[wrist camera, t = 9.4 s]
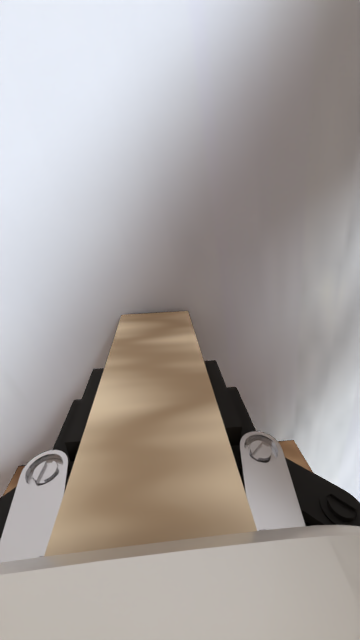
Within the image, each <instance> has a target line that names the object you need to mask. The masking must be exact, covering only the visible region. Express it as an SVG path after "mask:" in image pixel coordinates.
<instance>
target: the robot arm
mask: <svg viewBox="0 0 360 640" xmlns="http://www.w3.org/2000/svg"><path fill="white" fill-rule="evenodd" d="M204 363H205V366H206V369H207V373H208V376H209V379H210V382H211V385H212V389H213V392H214V395H215V398H216V401H217V404H218V408H219V411H220V414H221V417H222V420H223V423H224V427H225V430H226V433H227V436H228V439H229V442H230V446H231V449H232V452H233V455H234V458H235V462H236V465H237V468H238V471H239V474H240V477H241V481H242V484H243V487H244V490H245V493H246V496H247V500H248V503H249V506H250V509H251V512H252V515H253V519H254V522H255V525H256V528H257V531H253V532H244V533H236V534H227V535H218V536H209V537H200V538H192V539H184V540H175V541H167V542H158V543H150V544H142V545H133V546H125V547H117V548H109V549H101V550H93V551H85V552H77V553H69V554H61V555H53V556H45V557H44V555H45V552H46V549H47V546H48V542H49V539H50V536H51V533H52V530H53V527H54V524H55V521H56V517H57V514H58V511H59V508H60V505H61V502H62V499H63V496H64V492H65V489H66V486H67V483H68V480H69V477H70V474H71V471H72V468H73V464H74V461H75V458H76V455H77V452H78V449H79V446H80V443H81V439H82V436H83V433H84V430H85V427H86V424H87V421H88V418H89V414H90V411H91V408H92V405H93V402H94V399H95V396H96V393H97V390H98V386H99V383H100V380H101V377H102V374H103V371H104V368H102V369H93V371H92V374H91V376H90V379H89V381H88V384H87V387H86V389H85V392H84V394H83V397H82V399H79V400H74V402H73V403H72V406H71V408H70V410H69V413H68V415H67V417H66V420H65V422H64V424H63V427H62V429H61V431H60V434H59V436H58V438H57V441H56V443H55V445H54V448H53V450H49V451H46V452H43V453H41V454H39V455H37V456H36V457H34V458H33V459H32V460H31V461H29V462H28V463H27V465H26V466H25V467H24V468H23V470H22V472H21V475H20V478H19V481H18V484H17V486H16V487H15V488H14V489H12V490H11V491H9V492H8V493H7V494H5V495H4V496H2V497H1V498H0V640H360V503H359V502H358V501H357V500H356V499H355V498H354V497H353V496H352V495H351V494H349V493H348V492H346V491H345V490H343V489H341V488H339V487H338V486H336V485H334V484H332V483H330V482H329V481H327V480H325V479H323V478H321V477H320V476H318V475H316V474H314V473H312V472H311V471H309V470H307V469H305V468H303V467H302V466H300V465H298V464H296V463H294V462H293V461H291V460H289V459H287V458H285V456H284V453H283V450H282V448H281V445H280V444H279V442H278V441H277V440H276V439H275V438H273V437H272V436H271V435H269V434H266V433H264V432H259V431H256V430H255V428H254V426H253V423H252V421H251V419H250V417H249V414H248V412H247V410H246V408H245V405H244V403H243V401H242V399H241V397H240V394H239V392H238V390H237V388H236V387H229V388H226V385H225V383H224V380H223V377H222V375H221V372H220V370H219V367H218V365H217V362H216V361H215V360H213V361H204Z"/></svg>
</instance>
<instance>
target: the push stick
mask: <svg viewBox="0 0 360 640" xmlns="http://www.w3.org/2000/svg"><path fill="white" fill-rule="evenodd" d="M253 531H257V528H256V525H255V522H254V519H253V515H252V512H251V509H250V506H249V503H248V500H247V496H246V493H245V490H244V487H243V484H242V481H241V477H240V474H239V471H238V468H237V465H236V462H235V458H234V455H233V452H232V449H231V446H230V442H229V439H228V436H227V433H226V430H225V427H224V423H223V420H222V417H221V414H220V411H219V408H218V404H217V401H216V398H215V395H214V392H213V389H212V385H211V382H210V379H209V376H208V373H207V369H206V366H205V363H204V360H203V357H202V354H201V350H200V347H199V344H198V341H197V338H196V335H195V331H194V328H193V325H192V322H191V319H190V315H189V312H188V311H178V312H161V313H143V314H126V315H121V318H120V321H119V324H118V327H117V330H116V333H115V337H114V340H113V343H112V346H111V349H110V352H109V355H108V358H107V361H106V365H105V368H104V371H103V374H102V377H101V380H100V383H99V386H98V390H97V393H96V396H95V399H94V402H93V405H92V408H91V411H90V414H89V418H88V421H87V424H86V427H85V430H84V433H83V436H82V439H81V443H80V446H79V449H78V452H77V455H76V458H75V461H74V464H73V468H72V471H71V474H70V477H69V480H68V483H67V486H66V489H65V492H64V496H63V499H62V502H61V505H60V508H59V511H58V514H57V517H56V521H55V524H54V527H53V530H52V533H51V536H50V539H49V542H48V546H47V549H46V552H45V555H44V557H45V556H53V555H61V554H69V553H77V552H85V551H93V550H101V549H109V548H117V547H125V546H133V545H142V544H150V543H158V542H167V541H175V540H184V539H192V538H200V537H209V536H218V535H227V534H236V533H244V532H253Z"/></svg>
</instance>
